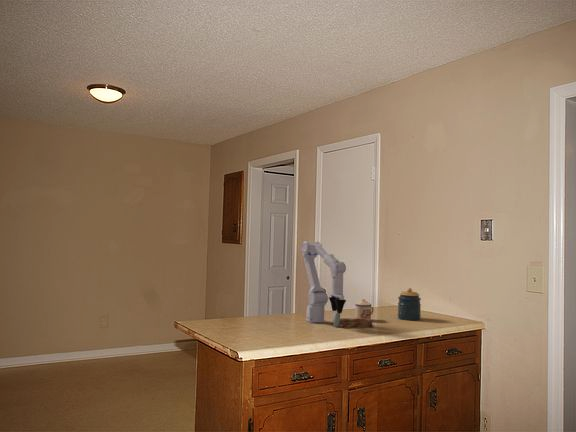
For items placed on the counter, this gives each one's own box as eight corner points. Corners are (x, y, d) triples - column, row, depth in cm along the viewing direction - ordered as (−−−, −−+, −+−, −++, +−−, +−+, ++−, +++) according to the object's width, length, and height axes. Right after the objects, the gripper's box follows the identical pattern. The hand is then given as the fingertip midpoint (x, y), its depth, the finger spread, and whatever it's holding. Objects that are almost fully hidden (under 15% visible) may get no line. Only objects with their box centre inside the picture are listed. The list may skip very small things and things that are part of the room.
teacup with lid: (362, 321, 267) (362, 300, 267) (351, 319, 275) (351, 298, 275) (378, 320, 273) (378, 299, 274) (367, 317, 281) (368, 297, 282)
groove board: (343, 327, 249) (343, 322, 249) (335, 323, 260) (335, 318, 260) (372, 327, 253) (372, 322, 253) (362, 322, 264) (363, 318, 264)
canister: (423, 321, 275) (423, 289, 276) (400, 320, 276) (400, 289, 276) (417, 317, 288) (418, 287, 289) (395, 316, 289) (396, 286, 289)
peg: (334, 327, 249) (334, 313, 249) (332, 326, 252) (332, 312, 252) (340, 327, 250) (341, 313, 250) (338, 326, 253) (338, 312, 253)
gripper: (325, 284, 258) (325, 309, 257) (335, 287, 244) (334, 314, 243) (338, 284, 259) (337, 309, 259) (348, 287, 245) (347, 314, 245)
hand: (336, 312), depth 251 cm, fingers open, 7 cm apart
